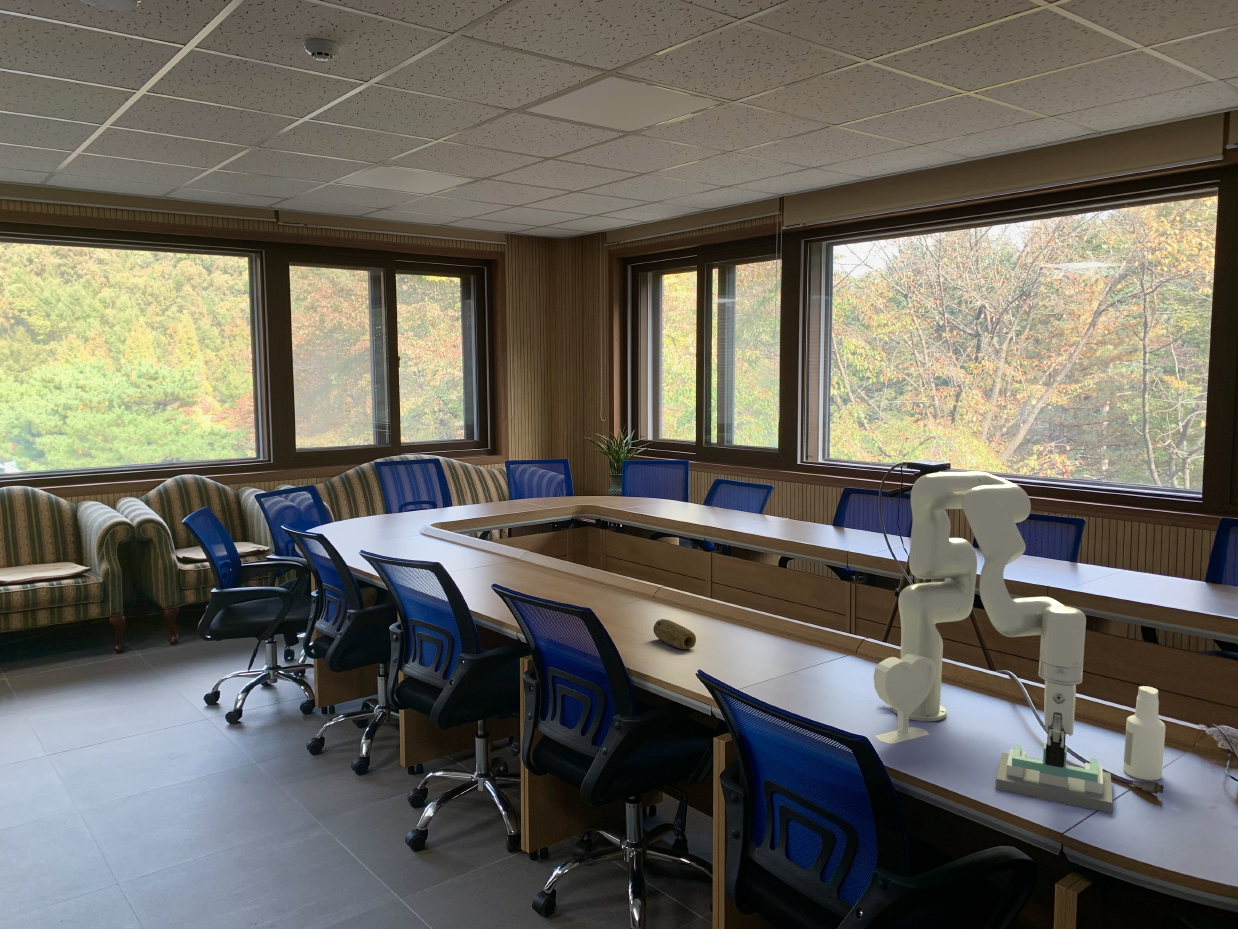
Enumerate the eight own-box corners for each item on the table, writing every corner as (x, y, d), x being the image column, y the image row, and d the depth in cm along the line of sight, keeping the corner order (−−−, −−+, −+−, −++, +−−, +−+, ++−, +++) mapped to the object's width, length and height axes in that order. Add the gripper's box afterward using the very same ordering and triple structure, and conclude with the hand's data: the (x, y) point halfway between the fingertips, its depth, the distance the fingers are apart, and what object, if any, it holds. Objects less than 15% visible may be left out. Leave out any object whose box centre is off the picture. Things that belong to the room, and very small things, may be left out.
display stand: (995, 788, 173) (996, 769, 173) (1001, 761, 186) (1002, 743, 185) (1111, 813, 164) (1113, 792, 164) (1109, 782, 176) (1111, 763, 176)
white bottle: (1147, 766, 184) (1154, 683, 182) (1169, 781, 177) (1175, 695, 176) (1116, 766, 184) (1121, 683, 182) (1136, 781, 177) (1142, 695, 175)
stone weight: (649, 641, 268) (649, 619, 267) (666, 637, 272) (666, 615, 271) (681, 653, 256) (682, 631, 255) (699, 649, 260) (700, 627, 259)
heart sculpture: (884, 745, 193) (888, 666, 191) (868, 737, 198) (871, 659, 196) (935, 733, 200) (939, 656, 198) (918, 725, 205) (922, 649, 203)
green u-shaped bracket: (1011, 767, 174) (1012, 742, 173) (1014, 749, 182) (1016, 726, 182) (1097, 784, 167) (1099, 758, 166) (1096, 764, 175) (1098, 740, 175)
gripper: (1082, 688, 160) (1076, 778, 162) (1082, 661, 176) (1077, 744, 177) (1037, 681, 164) (1031, 769, 166) (1041, 655, 179) (1036, 736, 181)
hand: (1055, 756), depth 171 cm, fingers open, 9 cm apart
